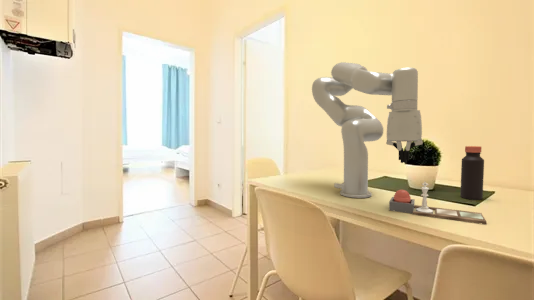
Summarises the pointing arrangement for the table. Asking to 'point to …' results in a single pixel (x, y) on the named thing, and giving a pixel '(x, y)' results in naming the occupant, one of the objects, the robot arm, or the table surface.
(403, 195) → the pop dome
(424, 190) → the chess piece
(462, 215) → the game board
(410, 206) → the dome housing
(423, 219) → the table surface
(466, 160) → the bottle
